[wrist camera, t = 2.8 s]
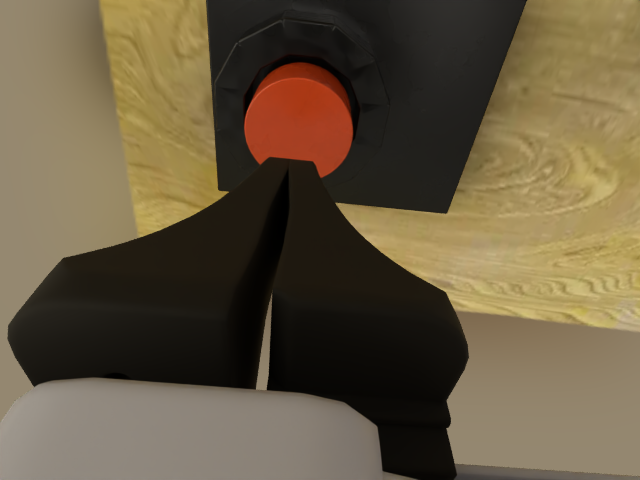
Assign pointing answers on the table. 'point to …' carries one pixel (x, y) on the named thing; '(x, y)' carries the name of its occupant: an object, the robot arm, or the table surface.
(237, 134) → the box
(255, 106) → the button
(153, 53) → the table surface
